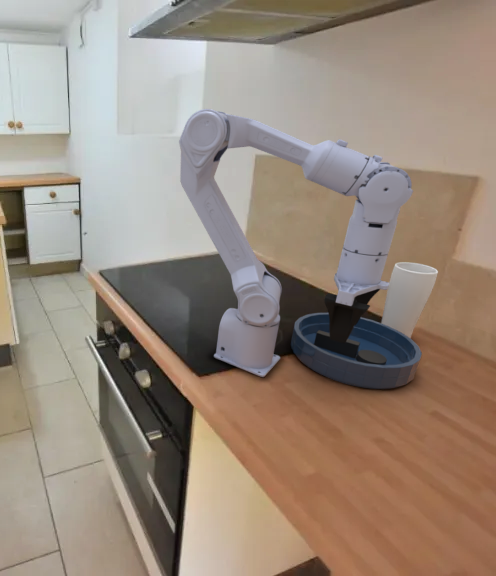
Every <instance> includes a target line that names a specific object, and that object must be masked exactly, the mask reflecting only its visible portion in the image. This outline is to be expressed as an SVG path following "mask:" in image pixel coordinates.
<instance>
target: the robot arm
mask: <svg viewBox="0 0 496 576" xmlns="http://www.w3.org/2000/svg"><path fill="white" fill-rule="evenodd" d="M348 144H349V142H348V141H346V140H343V139H340V138H339V139H337V140H336V142H335V141H333V140H331V139H327V140H324V141H322V142H319V143H316V144H311V143H309V142H306V141H304V140H302V139H300V138H297V137H295V136H293V135H291V134H288V133H287V132H284V131H282V130H280V129H277V128H275V127H273V126H270V125H268V124H266V123H263V122H261V121H259V120H257V119H254V118H249V117H244V116H239V115H234V114H229V113H226V112H225V111H219V110H215V109H212V108H202V109H199V110H196V111H195V112H194V113H192V114H191V115H190V116H189V118H188V119H187V121H186V122H185V125H184V127H183V130H182V132H181V135H180V137H179V139H178V145H179V149H180V175H179V179H180V180H179V181H180V185H181V187H182V189H183V190H184V192H185V194H186V196H187V198H188V200H189V202H190V203H191V205H192V207H193V209H194V211H195V212H196V214H197V217H198V218H199V219H200V222H201V223H202V225H203V227H204V229H205V231H206V233H207V235H208V236H209V238H210V240H211V242H212V243H213V245H214V248H215V249H216V251H217V253H218V255H219V256H220V259H221V260H222V262H223V264H224V265H225V267H226V269H227V271H228V272H229V274H230V278H231V284H232V288H233V293H234V294H235V296H236V298H237V308H234V307H229V308H228V309H226V310H225V311H224V313H223V315H222V317H221V319H220V322H219V326H218V333H217V340H216V341H217V342H216V350H215V353H214V354H213V358H215V359H216V360H219V361H222V362H224V363H227V364H229V365H231V366H234V367H236V368H238V369H241V370H243V371H246V372H248V373H251V374H253V375H255V376H258V377H261V378H264V377H266V375H267V374H268V373H269V372H270V371H271V370H272V369H273V368H274V367H275V366H276V365H277V363H278V362H279V361H280V360H281V356H280V355H278V354H274V353H275V348H276V343H277V337H278V333H279V328H280V327H279V326H280V321H281V315H280V307H281V306H280V300H281V296H282V292H283V288H282V284H281V282H280V280H279V279H278V278H277V277H276V276H275V275H273V274H271V273H270V272H269V271H268V269H267V268H266V266H265V264H264V263H263V262H262V261H260V260H259V258H258V257H257V255H256V254H255V252H254V250H253V248H252V246H251V244H250V242H249V241H248V238H247V237H246V235H245V233H244V231H243V229H242V227H241V226H240V224H239V221H238V220H237V219H236V217H235V214H234V212H233V211H232V209H231V207H230V205H229V203H228V201H227V200H226V198H225V196H224V194H223V192H222V191H221V188H220V186H219V185H218V183H217V181H216V178H215V176H216V172H217V169H218V167H219V164H220V161H221V158H222V157H223V156H224V154H225V153H226V151H227V150H229V149H238V148H247V147H249V148H250V147H251V148H253V149H256V150H259V151H261V152H264V153H267V154H269V155H272V156H275V157H277V158H280V159H281V160H285V161H287V162H290V163H292V164H295V165H297V166H300V167H301V169H302V172H303V173H302V174H303V176H304V179H306V180H308V181H310V182H312V183H315V184H317V185H319V186H321V187H324V188H326V189H329V190H331V191H334V192H335V193H337V194H340V195H342V196H345V197H353V196H354V197H355V198H356V199H355V201H354V206H353V210H352V214H351V215H350V217H349V219H348V223H347V228H346V232H345V237H344V240H343V244H342V250H341V253H340V258H339V262H338V266H337V270H336V273H334V276H333V281H334V283H335V286H336V289H337V294H334V293H330V292H327V293H326V295H324V300H323V301H324V305H325V307H326V309H327V310H326V311H327V313H328V314H329V334H330V339H332V340H335V341H338V342H342V343H345V342H346V341H347V339H348V337H349V336H350V334H351V332H352V330H353V328H354V325H356V324H357V323H358V321H359V319H360V318H361V317H362V316H363V315H364V314H365V313H366V312H367V311H368V310H369V309H370V307H371V304H369V303H370V301H371V300H372V298H374V296H375V295H377V294H378V292H380V291H381V290H383V291H387V290H388V287H389V284H390V283H389V281H384V280H382V277H383V273H384V270H385V266H386V263H387V259H388V256H389V253H390V249H391V247H392V242H393V239H394V236H395V233H396V228H397V225H398V218H399V214H400V211H401V207H403V206H404V205H405V204H407V202H408V201H409V200H410V199H411V197H412V195H413V193H414V189H412V186H413V185H412V183H413V182H412V179H411V176H409V174H408V172H407V171H405V170H404V169H402V168H401V167H397V166H396V165H392V164H391V163H390V162H388V161H387V162H386V161H383V156H380V155H378V154H373V156H370V155H368V154H365V153H362V152H361V151H357V150H355V149H353V148H350V147H347V146H348Z"/></svg>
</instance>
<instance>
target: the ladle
mask: <svg viewBox="0 0 496 576" xmlns="http://www.w3.org/2000/svg"><path fill="white" fill-rule="evenodd" d="M314 345H315V346H318V347H321V348H324V349H327V350H330V351H333V352H336V353H339V354H342V355H346V356H349V357H352V358H355V357H356V356H357V357H356V359H357V361H358V362H362V363H367V364H377V365H386V362H387V359H386V357H384V356H383V355H382V354H380V353H378V352H375V351H371V350H360V351H358V349H359V345H360V342H357V341H354V340H350V339H347V341H346V342H345V343H342V342H338V341H335V340H332V339H330V334H329V333H327V332H324V331H320V330H319V331H318V332H317V334H316V338H315V342H314ZM357 352H358V353H357Z"/></svg>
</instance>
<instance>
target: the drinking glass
mask: <svg viewBox="0 0 496 576" xmlns="http://www.w3.org/2000/svg"><path fill="white" fill-rule="evenodd" d="M438 274H439V271H438V270H437V268H435V267H432V266H430V265H426V264H423V263H417V262H411V261H410V262H408V261H400V262H395V264H394V266H393V268H392V270H391V274H390V277H389V281H388V282H389V283H390V284H389V287H388V289H387V290H386V296H385V301H384V306H383V311H382V317H381V321H380V323H382V324H384V325H387V326H389V327H391V328H393V329H395V330H398V331H400V332H402V333H403V334H405V335H406V336H408V337H409V338H411V339H412V336H413V333H414V330H415V328H416V326H417V324H418V322H419V320H420V318H421V316H422V313H423V311H424V309H425V307H426V305H427V303H428V301H429V299H430V297H431V294H432V292H433V289H434V287H435V284H436V281H437V277H438Z"/></svg>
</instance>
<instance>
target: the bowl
mask: <svg viewBox="0 0 496 576" xmlns="http://www.w3.org/2000/svg"><path fill="white" fill-rule="evenodd" d="M319 330H320V331H324V332H327V333H329V314H328V312H313V313H309V314H305V315H302V316H300V317H298V319H297V320H295V321H294V325H293V330H292V335H291V340H290V347H291V349H292V352H293V354H294V355H295V356H296V357H297V358H298V360H299V361H300V362H301V363H302V364H304V365H305V366H306V367H307V368H309V369H310V370H312V371H314V372H316V373H317V374H319V375H321V376H323V377H325V378H328V379H330V380H332V381H335V382H339V383H342V384H345V385H348V386H353V387H357V388H363V389H369V390H370V389H371V390H391V389H395V388H399V387H402V386H405V385H407V384H409V383H410V382H411V381H413V380H414V377H415V376H416V372H417V370H418V367H419V364H420V361H421V358H422V355H423V354H422V350H421V349H420V346H419V345H418V344H417V343H416V342H415V341H414V340H413V339H412V337H411V338H409V337H408V336H406V335H405V334H403V333H402V332H400V331H398V330H395V329H393V328H391V327H389V326H387V325H384V324H382V323H381V322H378V321H376V320H373V319H369V318H366V317H362V316H361V318H360V319H359V321H358V323H357V324H356V325H354V328H353V330H352V332H351V334H350V336H349V337H348V339H350V340H354V341H357V342H360V345H359V349H358V351H360V350H371V351H375V352H378V353H380V354H382V355H383V356H384V357H386V359H387V362H386V365H377V364H367V363H362V362H358V361H357V359H356V357H357V356H356V357H355V358H352V357H349V356H346V355H342V354H339V353H336V352H333V351H330V350H327V349H324V348H321V347H318V346H315V345H314V342H315V338H316V334H317V332H318V331H319ZM357 353H358V352H357Z"/></svg>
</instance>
